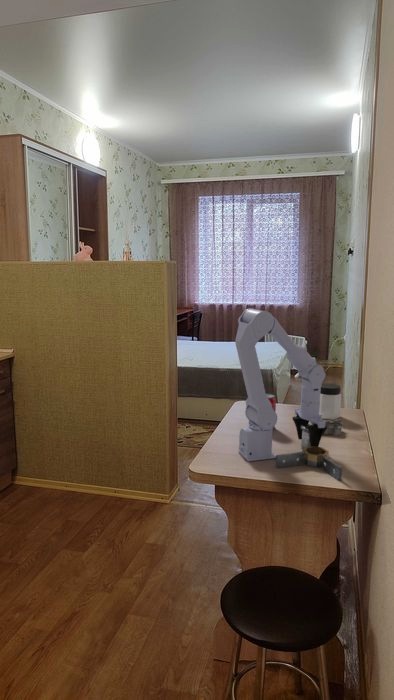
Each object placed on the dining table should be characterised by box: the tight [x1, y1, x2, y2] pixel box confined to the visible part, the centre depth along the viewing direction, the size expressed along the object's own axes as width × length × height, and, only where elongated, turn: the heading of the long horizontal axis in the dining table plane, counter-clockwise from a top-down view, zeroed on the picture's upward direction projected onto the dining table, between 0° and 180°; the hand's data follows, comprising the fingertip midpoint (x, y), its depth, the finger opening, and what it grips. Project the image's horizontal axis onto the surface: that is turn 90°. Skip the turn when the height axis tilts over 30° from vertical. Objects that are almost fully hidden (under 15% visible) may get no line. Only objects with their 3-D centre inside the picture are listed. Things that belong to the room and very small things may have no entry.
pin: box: [300, 423, 311, 451], centre depth 156 cm, size 5×5×7 cm
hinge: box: [275, 446, 343, 481], centre depth 140 cm, size 16×16×4 cm
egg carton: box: [310, 418, 343, 436], centre depth 173 cm, size 11×8×4 cm
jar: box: [319, 382, 342, 421], centre depth 189 cm, size 9×8×12 cm
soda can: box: [266, 393, 277, 430], centre depth 175 cm, size 6×6×12 cm
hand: (308, 443), depth 156 cm, fingers open, 7 cm apart
